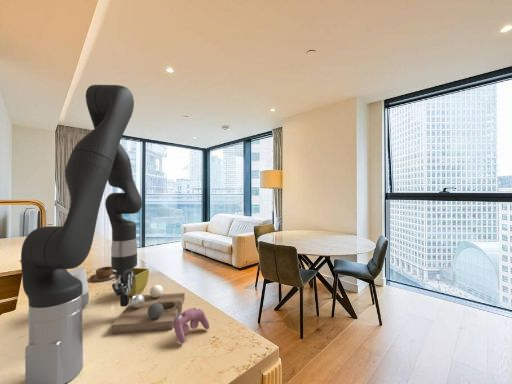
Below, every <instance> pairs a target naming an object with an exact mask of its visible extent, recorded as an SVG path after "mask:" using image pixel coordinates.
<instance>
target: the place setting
mask: <svg viewBox="0 0 512 384" xmlns="http://www.w3.org/2000/svg"><path fill="white" fill-rule="evenodd" d="M116 273H117V271H116V270H113V269H112V268H111V266H103V267H99V268H97V269H95V274H92V275H90V276H89V280H90V282H92V283H102V282H109V281H111V282H112V283H113V282H114V281H116V275H115V274H116ZM112 275H114V276H112ZM95 278H98V279H95Z"/></svg>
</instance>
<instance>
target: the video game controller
mask: <svg viewBox="0 0 512 384" xmlns="http://www.w3.org/2000/svg"><path fill="white" fill-rule="evenodd" d="M188 323H189V324H188ZM199 323H200V324H201V325H202V327H203V328H204V329H206V330H209V328H210V322H209V320H208V317H207V316H206V314H205V312H204V310H203V309H202V308H199V307H191V308H189V309H186V310H184V311H182V312H181V314H180V315H178V316H177V317H176V318H175V319H174V321H173V329H174V332H175V335H176V338H177V341H179V343H180V344H181V345H182V344H185V341H186V338H185V335H186V334H188V333H189V331H190V329H193V330H194V329H197V328H198V327H199Z"/></svg>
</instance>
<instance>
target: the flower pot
mask: <svg viewBox="0 0 512 384" xmlns="http://www.w3.org/2000/svg"><path fill="white" fill-rule="evenodd" d="M132 271H135V277H134V282H133V286H132V289H130V293H129V297H133V296H134V295H136V294H141V293H142V292H144V290H145V288H146V286H147V284H148V281H149V275H150V268H141V267H134V268H132Z"/></svg>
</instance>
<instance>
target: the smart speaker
mask: <svg viewBox="0 0 512 384" xmlns="http://www.w3.org/2000/svg"><path fill="white" fill-rule="evenodd" d="M67 271H68V272H69V273H70V274H71V275H72V276H74V277H76V278H77V279H79V280H80V281H81V282H82V287H83V292H82V300H83V306H82V310H84V309H85V308H86V306H88V304H89V300H90V299H89V298H90V295H89V294H90V293H89V286H88V285H89V283H88V278H87V270H86V266H78V267H76V268H73V269H70V270H67Z"/></svg>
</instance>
